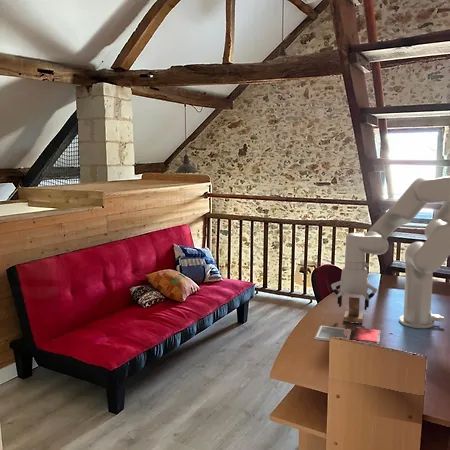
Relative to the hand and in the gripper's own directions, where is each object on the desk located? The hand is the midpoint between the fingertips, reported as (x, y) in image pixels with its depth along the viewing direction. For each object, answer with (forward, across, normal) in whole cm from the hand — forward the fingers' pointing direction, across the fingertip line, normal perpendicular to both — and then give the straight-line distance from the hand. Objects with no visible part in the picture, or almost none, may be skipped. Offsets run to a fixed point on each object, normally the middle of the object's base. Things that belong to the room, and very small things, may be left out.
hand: (352, 307), depth 180 cm
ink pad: (+5, -7, +16) cm, 18 cm away
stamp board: (+6, +5, +16) cm, 18 cm away
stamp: (+6, -1, 0) cm, 6 cm away
